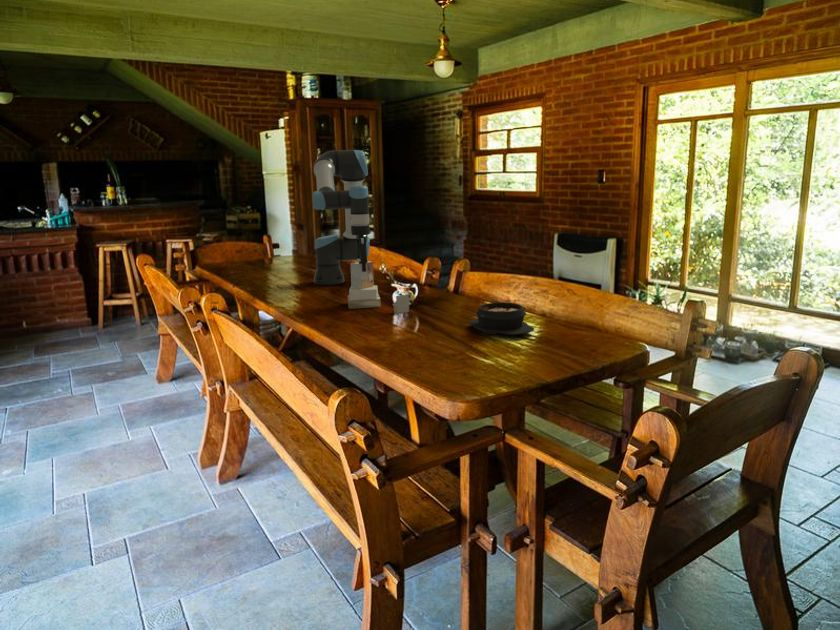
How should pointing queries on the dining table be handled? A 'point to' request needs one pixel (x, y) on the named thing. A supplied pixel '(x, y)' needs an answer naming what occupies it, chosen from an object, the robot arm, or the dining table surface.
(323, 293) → the dining table surface
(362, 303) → the tower base slab
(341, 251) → the robot arm
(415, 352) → the dining table surface
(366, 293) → the tower top slab
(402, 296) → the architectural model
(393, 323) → the dining table surface
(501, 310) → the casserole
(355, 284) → the small box
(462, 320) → the dining table surface
